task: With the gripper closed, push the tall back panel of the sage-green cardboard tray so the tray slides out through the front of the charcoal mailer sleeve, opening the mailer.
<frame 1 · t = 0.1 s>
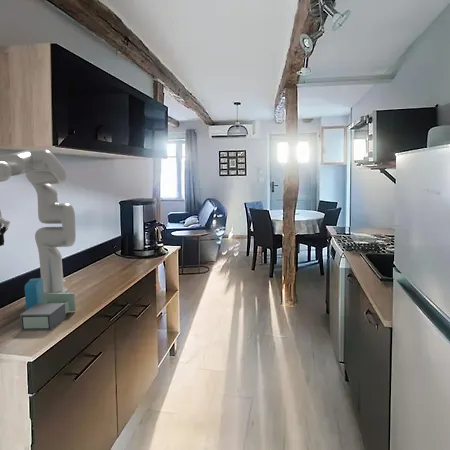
mailer sleeve: (44, 324, 146), on the table
data package: (36, 309, 163), on the table
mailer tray: (48, 309, 149), point 4 cm above the table, slide at 0.0 cm
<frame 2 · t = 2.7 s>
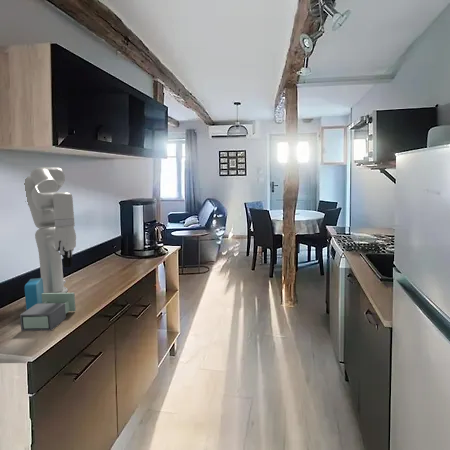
hand: (68, 266, 162), 17 cm above the table, tool pointing down, fingers closed
nothing on the table moved.
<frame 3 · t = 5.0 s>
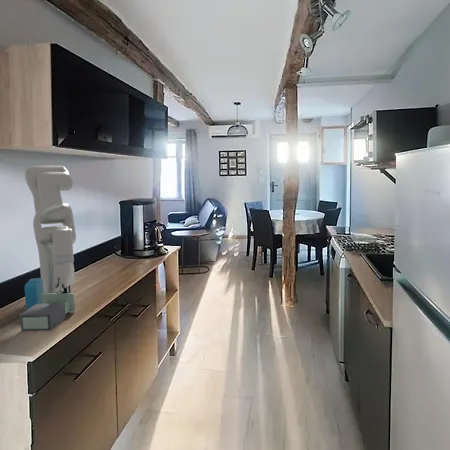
hand: (67, 302, 161), 3 cm above the table, tool pointing down, fingers closed
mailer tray: (47, 310, 148), point 4 cm above the table, slide at 0.4 cm, touching gripper
everything else where it was.
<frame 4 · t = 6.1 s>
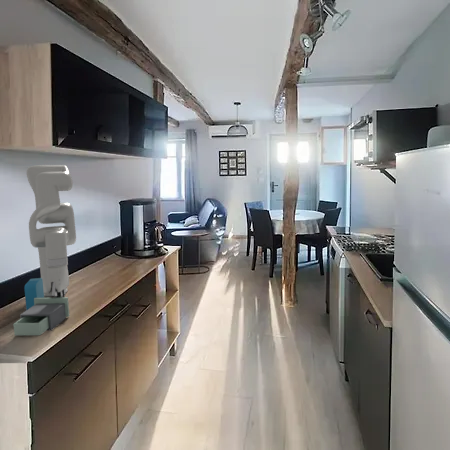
hand: (60, 306, 155), 3 cm above the table, tool pointing down, fingers closed
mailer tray: (40, 315, 143), point 4 cm above the table, slide at 6.0 cm, touching gripper, mailer sleeve
everything else where it was.
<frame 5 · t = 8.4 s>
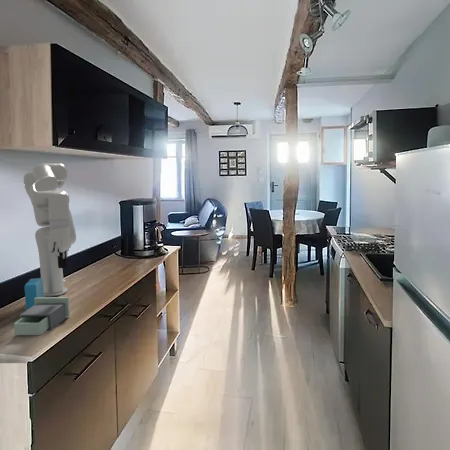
hand: (63, 267, 159), 18 cm above the table, tool pointing down, fingers closed
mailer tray: (40, 315, 143), point 4 cm above the table, slide at 5.7 cm
everything else where it was.
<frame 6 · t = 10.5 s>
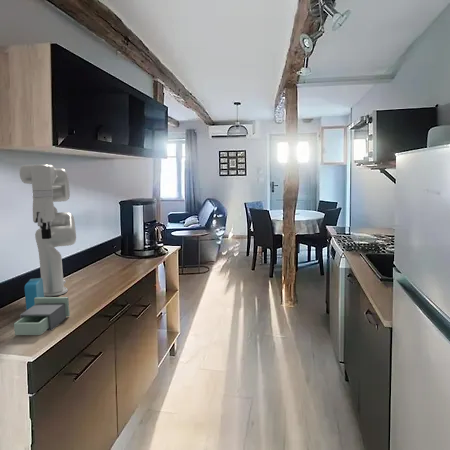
hand: (46, 238, 163), 29 cm above the table, tool pointing down, fingers closed
nothing on the table moved.
at the end: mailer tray slide at 5.7 cm; data package moved 0.3 cm from its start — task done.
